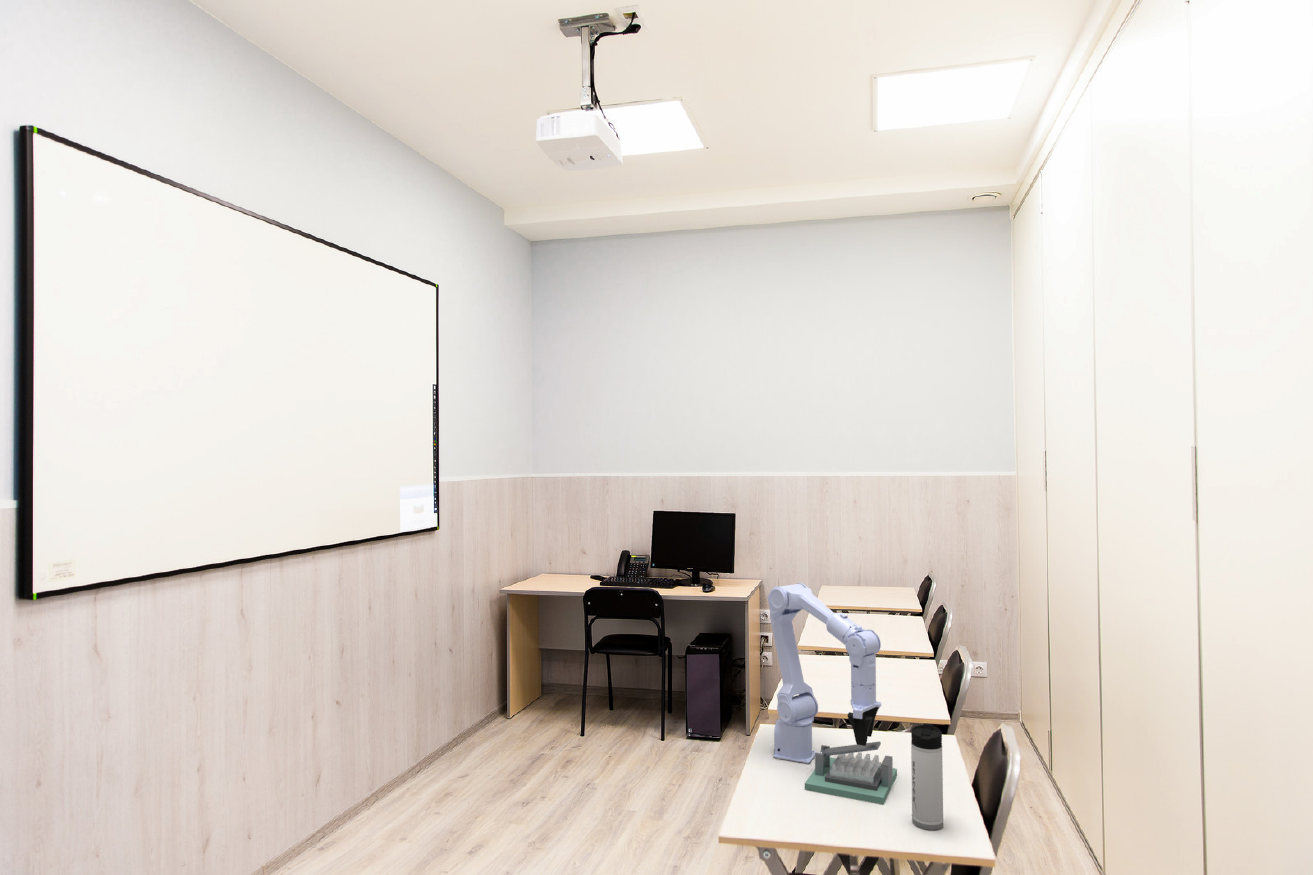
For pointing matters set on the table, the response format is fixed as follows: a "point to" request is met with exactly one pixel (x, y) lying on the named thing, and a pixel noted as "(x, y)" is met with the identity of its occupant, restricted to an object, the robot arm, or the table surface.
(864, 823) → the table surface
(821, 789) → the circuit board
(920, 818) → the travel mug
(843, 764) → the heat sink
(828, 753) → the flat metal bar
